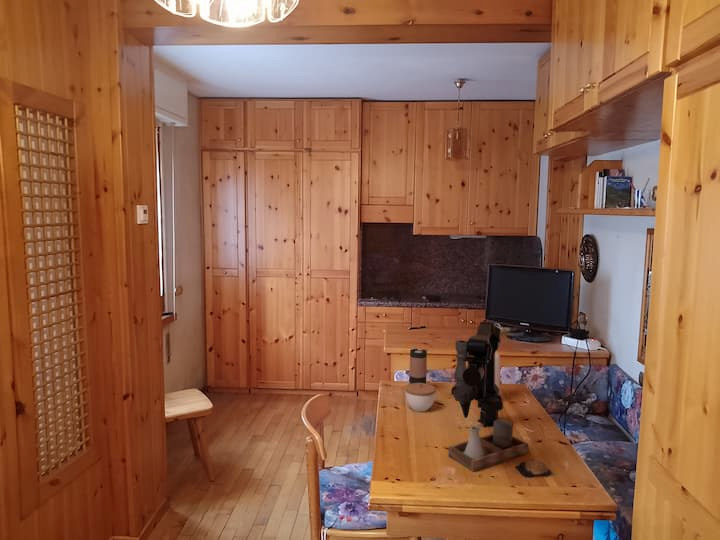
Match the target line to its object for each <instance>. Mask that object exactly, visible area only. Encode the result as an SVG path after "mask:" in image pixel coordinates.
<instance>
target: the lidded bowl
mask: <svg viewBox="0 0 720 540" xmlns="http://www.w3.org/2000/svg"><path fill="white" fill-rule="evenodd" d="M404 389H405V390H404V392H405V400H406V403H407V405H408V406H409V408H410V409H411V410H412V411H414V412H418V413H419V412H420V413H425V412H428V411H429V410H430V408H432V406H433V405H434V403H435V398H436V386H434V385H432V384H429V383H426V384H425V383H412V384H410V383H408V384H407V385H406V386H405V388H404Z"/></svg>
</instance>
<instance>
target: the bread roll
mask: <svg viewBox="0 0 720 540" xmlns="http://www.w3.org/2000/svg"><path fill="white" fill-rule="evenodd" d="M514 469H515V470H517V471H518V473H519V474H520V476H522V477H525V479H527V478H528V479H533V478H534V479H535V478H542V477H543V478H544V477H550V476H554V475H555V472H554V471H552V470H551V469H550V467H548V466H547V465H546V464H545V463H544V462H543V461H541V460H531V461H530V460H529V461H527V462H524V461H521V462H520V463H519V464H518V465H516V466H514Z"/></svg>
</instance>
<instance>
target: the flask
mask: <svg viewBox="0 0 720 540" xmlns="http://www.w3.org/2000/svg"><path fill="white" fill-rule="evenodd" d="M469 429H470V435H469V436H470V437H469V439H468V441H469V442H468V444H467V447H466V449H465V451H464V454H466V455H467V456H469V457H471V458H472V459H476V458H479V457H483V456H485V454H484V451H483V448H482V445H481V442H480V431H481V428H480V426H477V425H471V426H470V427H469Z"/></svg>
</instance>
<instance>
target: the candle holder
mask: <svg viewBox="0 0 720 540" xmlns="http://www.w3.org/2000/svg"><path fill="white" fill-rule="evenodd" d="M467 341H468V340H464V339H459V340H458V339H457V340H456V341H455V351H456V354H455V357H456V367H455V369H454V373H453V377H454V379H455V384H454V385H453V386H457V385H462V384H464V383H465V382H464V380H463V372H464V371H465V369H466V368H467V361H463V359H464V353H465V346H466V342H467ZM467 356H468V354H467Z"/></svg>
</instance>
